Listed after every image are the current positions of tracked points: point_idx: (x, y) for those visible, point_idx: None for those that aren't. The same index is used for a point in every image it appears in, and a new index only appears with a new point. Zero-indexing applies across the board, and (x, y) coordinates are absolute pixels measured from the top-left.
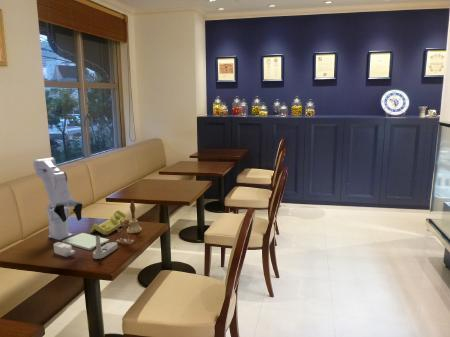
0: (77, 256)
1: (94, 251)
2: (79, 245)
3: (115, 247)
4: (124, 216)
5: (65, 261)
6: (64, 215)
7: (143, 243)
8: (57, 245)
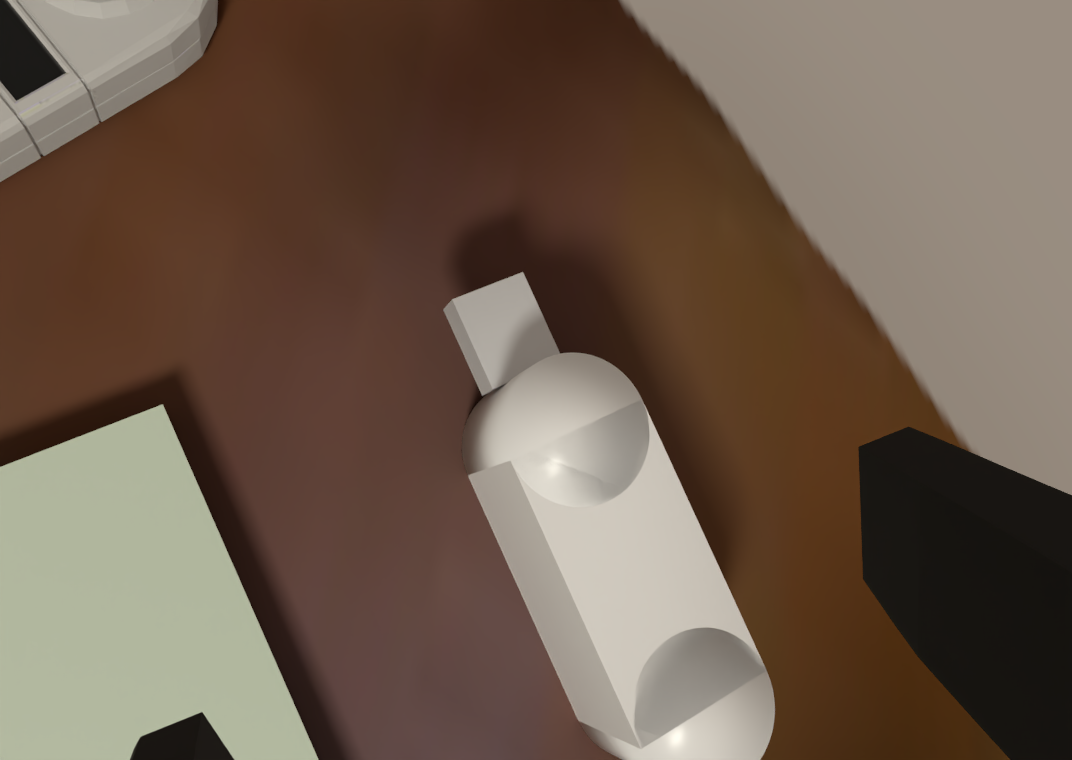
0: (414, 279)
1: (162, 22)
2: (280, 682)
3: None
4: None
5: (603, 219)
6: (1066, 511)
7: None
8: (718, 618)
